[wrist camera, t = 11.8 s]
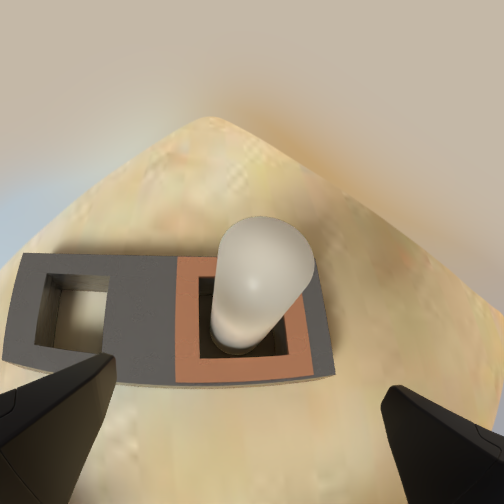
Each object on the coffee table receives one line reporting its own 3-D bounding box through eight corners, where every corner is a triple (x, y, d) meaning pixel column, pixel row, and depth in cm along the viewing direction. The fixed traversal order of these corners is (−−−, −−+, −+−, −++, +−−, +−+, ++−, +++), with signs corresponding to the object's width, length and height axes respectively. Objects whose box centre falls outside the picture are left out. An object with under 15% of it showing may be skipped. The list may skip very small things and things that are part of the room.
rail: (318, 379, 20) (337, 374, 17) (22, 367, 15) (-1, 359, 12) (302, 275, 24) (316, 256, 21) (38, 270, 20) (21, 251, 17)
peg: (254, 361, 20) (305, 314, 10) (202, 345, 20) (203, 281, 10) (268, 314, 22) (320, 233, 13) (219, 297, 22) (236, 205, 13)
